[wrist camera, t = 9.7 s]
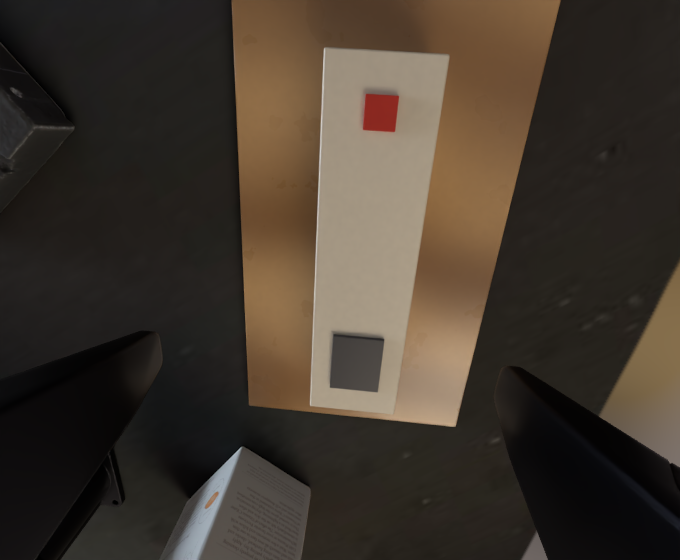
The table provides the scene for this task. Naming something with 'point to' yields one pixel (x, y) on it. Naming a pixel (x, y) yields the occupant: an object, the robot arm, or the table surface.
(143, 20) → the table surface
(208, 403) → the table surface
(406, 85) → the remote
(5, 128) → the disk drive
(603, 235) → the table surface
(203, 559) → the small box
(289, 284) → the cork mat
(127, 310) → the table surface
